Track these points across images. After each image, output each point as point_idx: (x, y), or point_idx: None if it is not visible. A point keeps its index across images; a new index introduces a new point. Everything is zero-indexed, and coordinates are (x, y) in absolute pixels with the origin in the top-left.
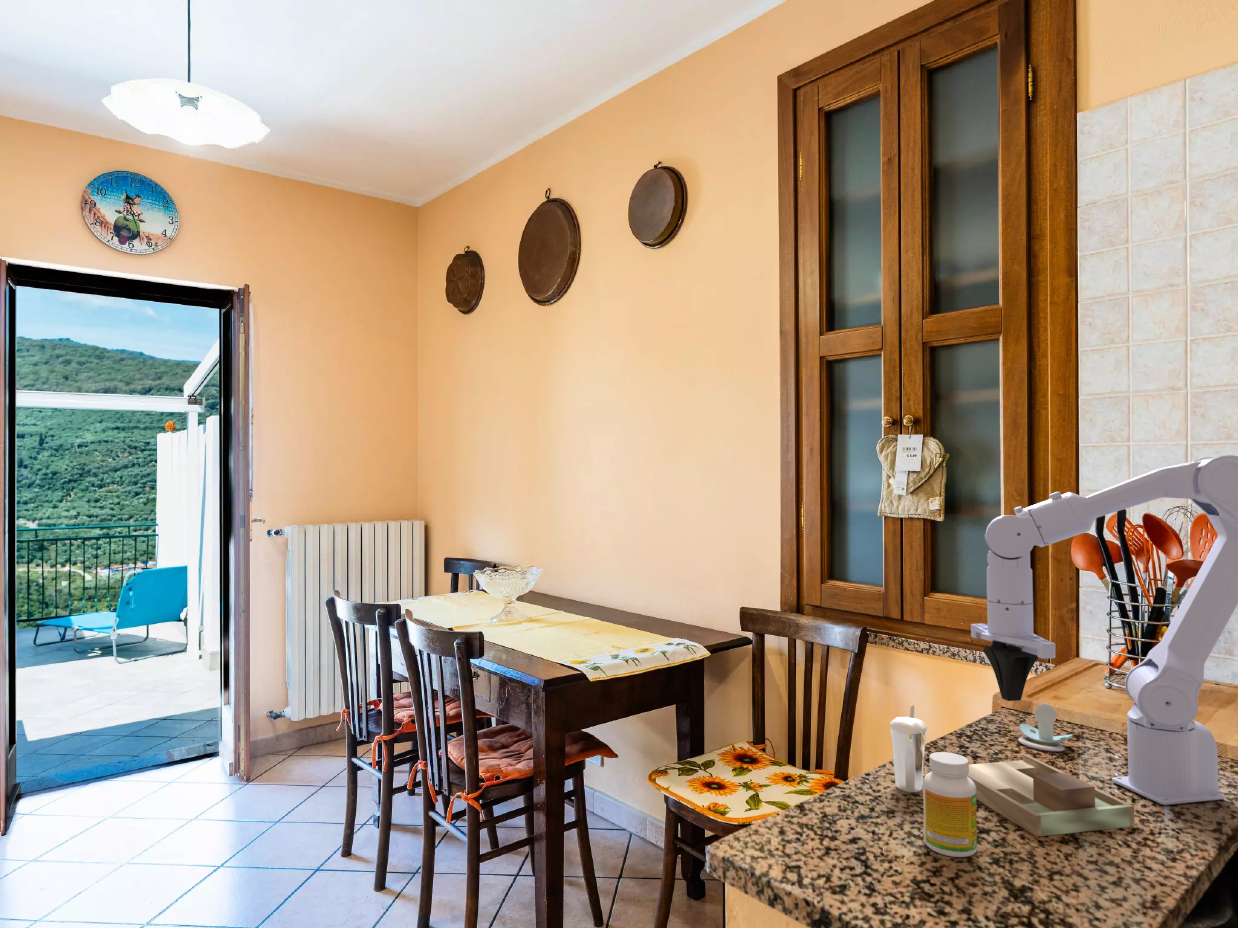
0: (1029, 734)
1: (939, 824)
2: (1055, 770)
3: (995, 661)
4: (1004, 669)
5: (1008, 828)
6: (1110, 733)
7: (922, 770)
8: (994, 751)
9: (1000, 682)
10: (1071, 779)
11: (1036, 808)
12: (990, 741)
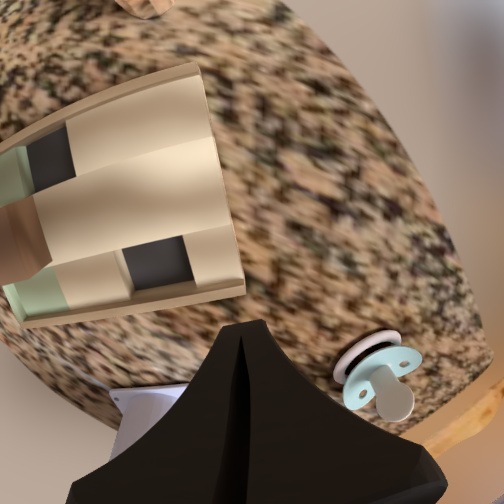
0: (395, 354)
1: None
2: (143, 303)
3: (260, 445)
4: (177, 426)
5: (2, 129)
6: None
7: (124, 4)
8: (359, 264)
9: (253, 357)
10: (3, 269)
11: (8, 185)
12: (408, 281)
